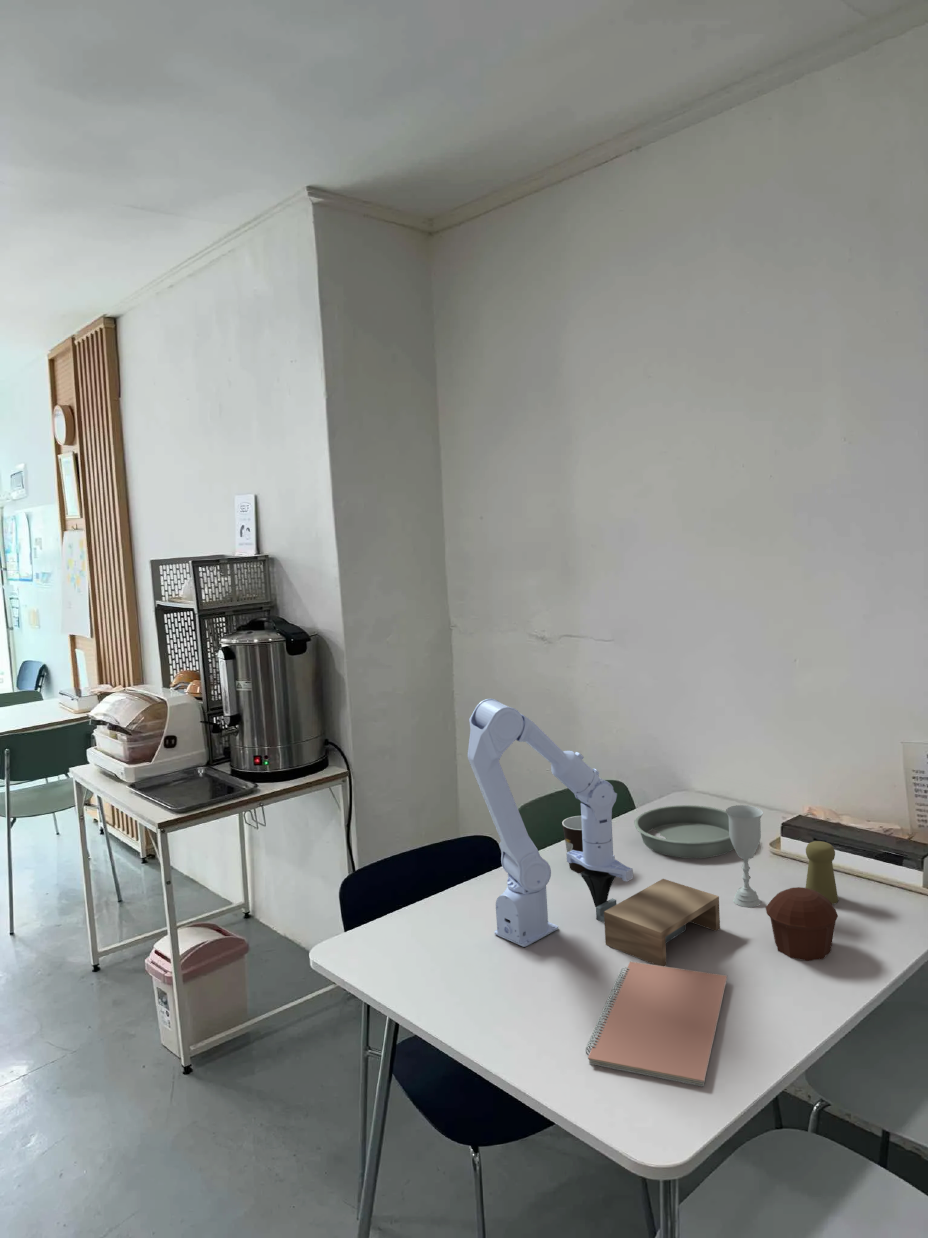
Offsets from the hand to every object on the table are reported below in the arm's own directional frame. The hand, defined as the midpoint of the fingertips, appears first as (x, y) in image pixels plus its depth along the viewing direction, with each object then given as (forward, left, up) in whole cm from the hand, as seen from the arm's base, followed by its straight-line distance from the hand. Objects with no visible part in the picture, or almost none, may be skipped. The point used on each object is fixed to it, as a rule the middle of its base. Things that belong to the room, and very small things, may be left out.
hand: (600, 906), depth 163 cm
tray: (0, -8, -1) cm, 9 cm away
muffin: (+12, -34, -2) cm, 36 cm away
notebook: (-22, -29, -2) cm, 36 cm away
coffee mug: (+16, +18, -2) cm, 24 cm away
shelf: (0, -14, -1) cm, 14 cm away
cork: (+32, -28, -2) cm, 43 cm away
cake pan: (+42, +8, -2) cm, 43 cm away
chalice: (+22, -18, -2) cm, 29 cm away
